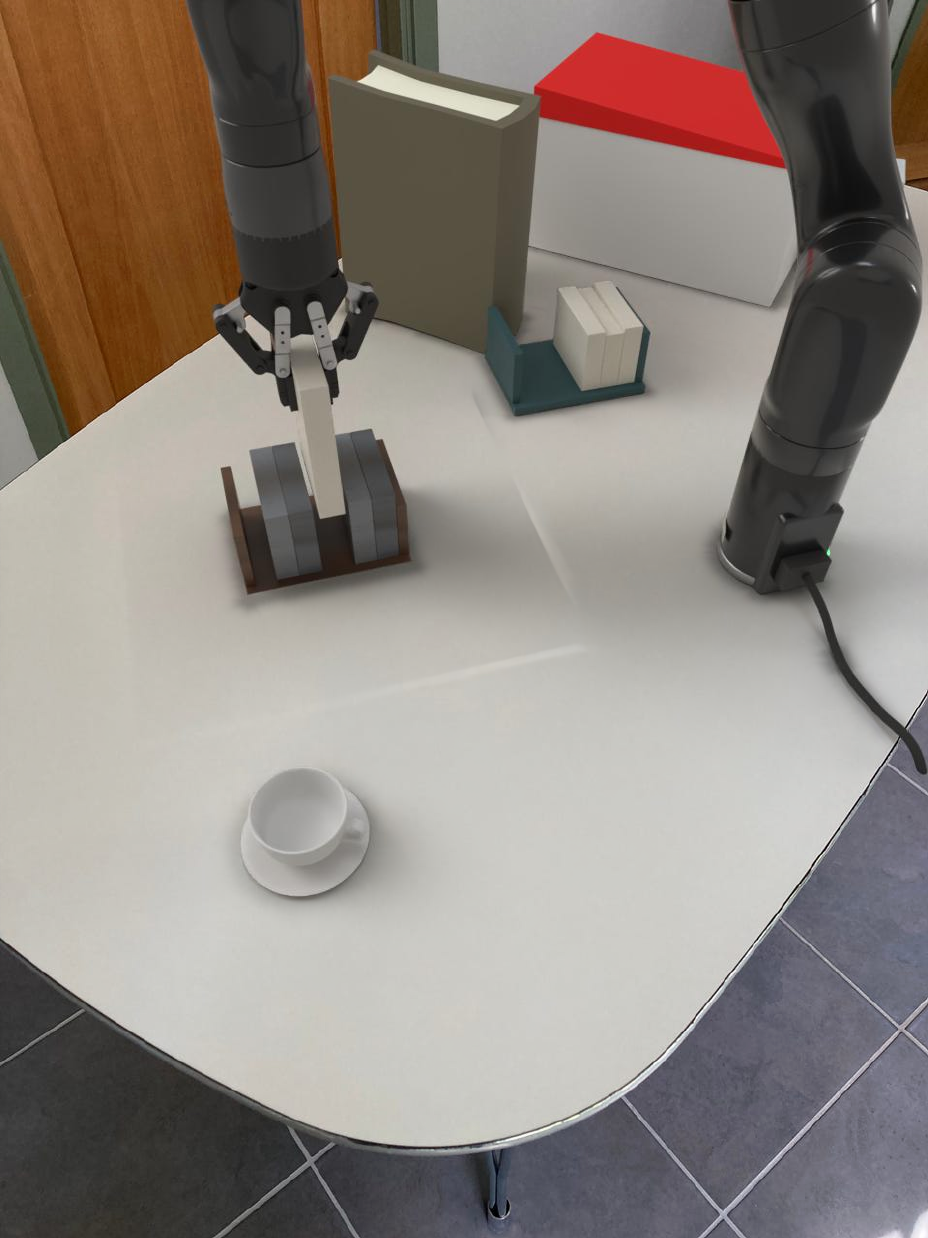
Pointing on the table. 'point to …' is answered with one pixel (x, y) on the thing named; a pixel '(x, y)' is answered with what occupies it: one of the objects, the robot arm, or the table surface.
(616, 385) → the teal book rack
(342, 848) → the teacup
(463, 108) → the book
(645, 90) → the red-lidded white box
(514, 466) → the table surface
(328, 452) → the white book
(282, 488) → the brown book rack
